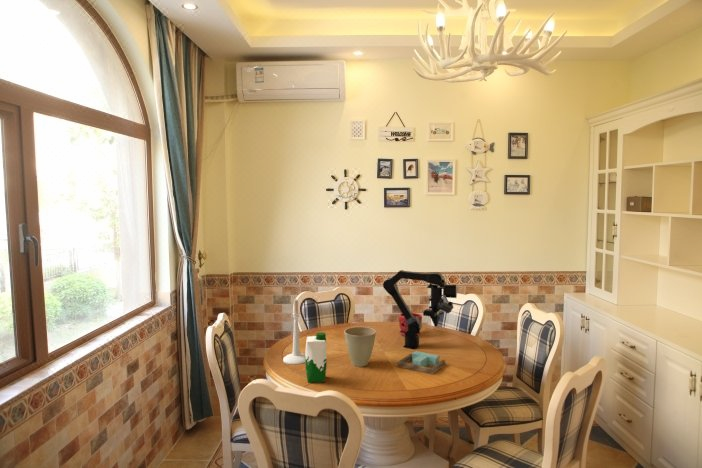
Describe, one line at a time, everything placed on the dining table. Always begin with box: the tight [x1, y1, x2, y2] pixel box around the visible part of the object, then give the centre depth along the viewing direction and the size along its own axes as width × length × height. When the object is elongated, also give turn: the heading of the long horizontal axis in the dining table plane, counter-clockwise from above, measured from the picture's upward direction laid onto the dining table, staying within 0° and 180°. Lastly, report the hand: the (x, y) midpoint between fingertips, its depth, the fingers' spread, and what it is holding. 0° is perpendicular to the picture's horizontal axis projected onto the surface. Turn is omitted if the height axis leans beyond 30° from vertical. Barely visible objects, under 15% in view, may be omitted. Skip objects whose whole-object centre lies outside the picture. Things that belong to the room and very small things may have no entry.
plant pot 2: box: [398, 312, 423, 337], centre depth 259 cm, size 13×13×12 cm
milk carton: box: [304, 332, 328, 384], centre depth 193 cm, size 9×9×20 cm
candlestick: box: [282, 299, 305, 366], centre depth 217 cm, size 13×13×30 cm
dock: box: [396, 353, 446, 375], centre depth 210 cm, size 18×14×2 cm
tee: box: [411, 350, 440, 367], centre depth 211 cm, size 12×12×4 cm
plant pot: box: [343, 326, 377, 368], centre depth 212 cm, size 15×15×16 cm
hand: (435, 326), depth 234 cm, fingers closed
